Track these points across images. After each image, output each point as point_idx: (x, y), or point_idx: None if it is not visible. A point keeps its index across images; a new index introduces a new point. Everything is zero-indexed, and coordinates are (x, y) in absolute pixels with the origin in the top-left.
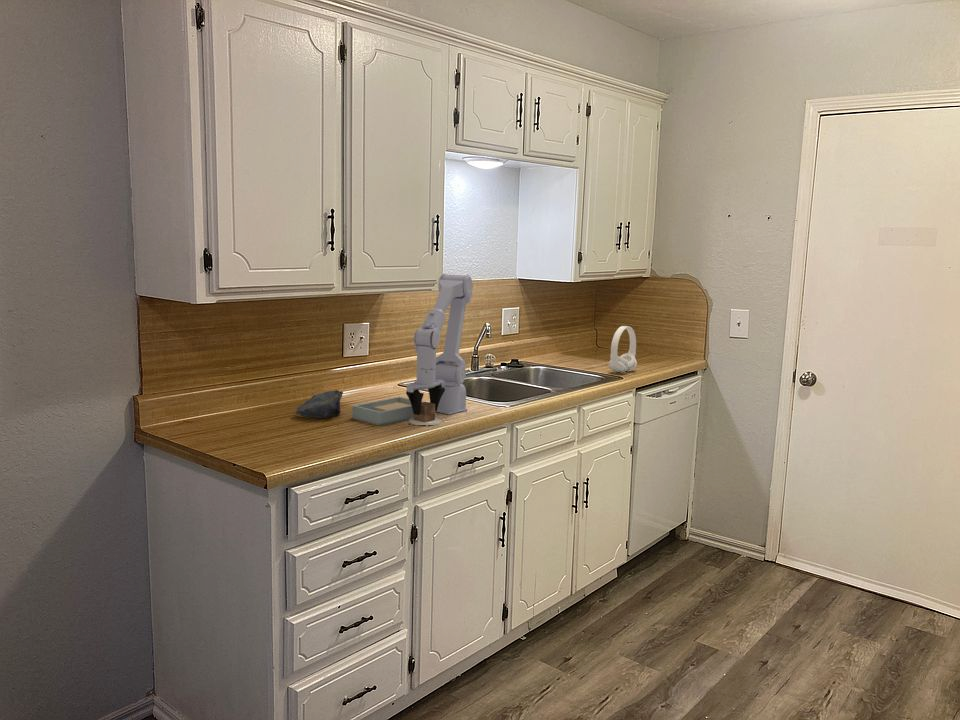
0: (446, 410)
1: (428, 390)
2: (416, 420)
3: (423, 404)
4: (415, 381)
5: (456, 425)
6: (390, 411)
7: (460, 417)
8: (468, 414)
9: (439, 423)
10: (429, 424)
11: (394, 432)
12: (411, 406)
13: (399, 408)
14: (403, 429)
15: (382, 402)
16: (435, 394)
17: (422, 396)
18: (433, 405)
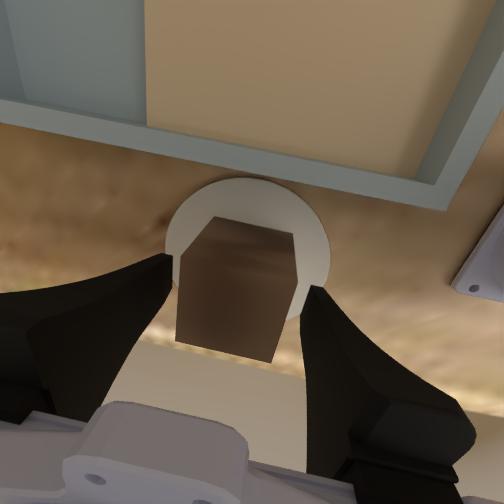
0: (497, 270)
1: (356, 374)
2: None
3: (207, 316)
4: (60, 478)
5: (274, 369)
6: (32, 127)
7: (417, 340)
8: (499, 346)
9: None
10: None
11: (23, 243)
12: (255, 173)
13: (123, 143)
14: (82, 247)
15: None
16: (318, 410)
17: (91, 412)
18: (254, 353)
